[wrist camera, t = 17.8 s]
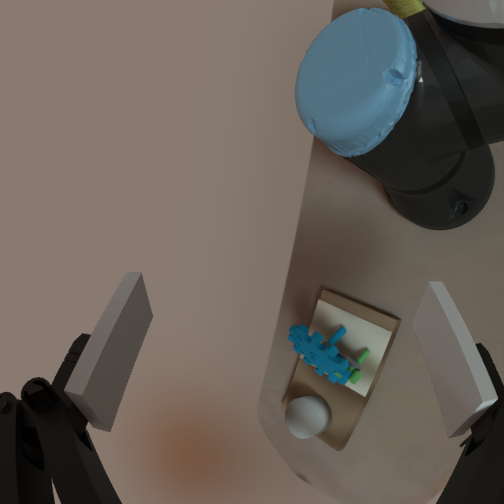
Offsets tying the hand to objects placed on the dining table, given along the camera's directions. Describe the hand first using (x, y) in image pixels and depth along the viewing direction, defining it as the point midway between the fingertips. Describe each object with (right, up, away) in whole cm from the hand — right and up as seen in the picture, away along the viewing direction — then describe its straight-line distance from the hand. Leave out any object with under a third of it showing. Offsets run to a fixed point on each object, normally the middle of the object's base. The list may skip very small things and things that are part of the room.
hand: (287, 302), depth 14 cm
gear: (+10, -11, +26) cm, 30 cm away
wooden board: (+10, -14, +27) cm, 32 cm away
